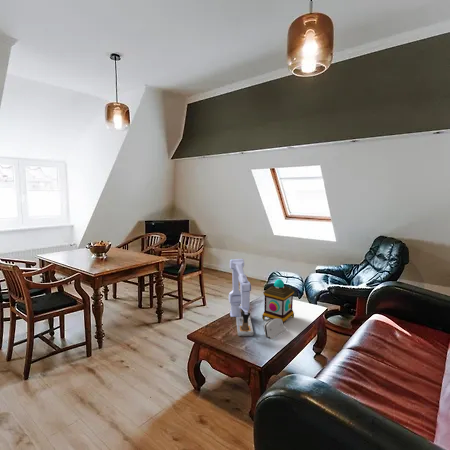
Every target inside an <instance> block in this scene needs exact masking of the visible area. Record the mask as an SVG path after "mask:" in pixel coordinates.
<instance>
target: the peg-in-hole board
mask: <svg viewBox="0 0 450 450" xmlns="http://www.w3.org/2000/svg"><path fill="white" fill-rule="evenodd" d="M242 319H243V316H241V317H235V322H236V331H237V336H239V337H240V336H241V337H247V336H254V329H253V324H252V321H251V316H249V318H248V330H242Z"/></svg>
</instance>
